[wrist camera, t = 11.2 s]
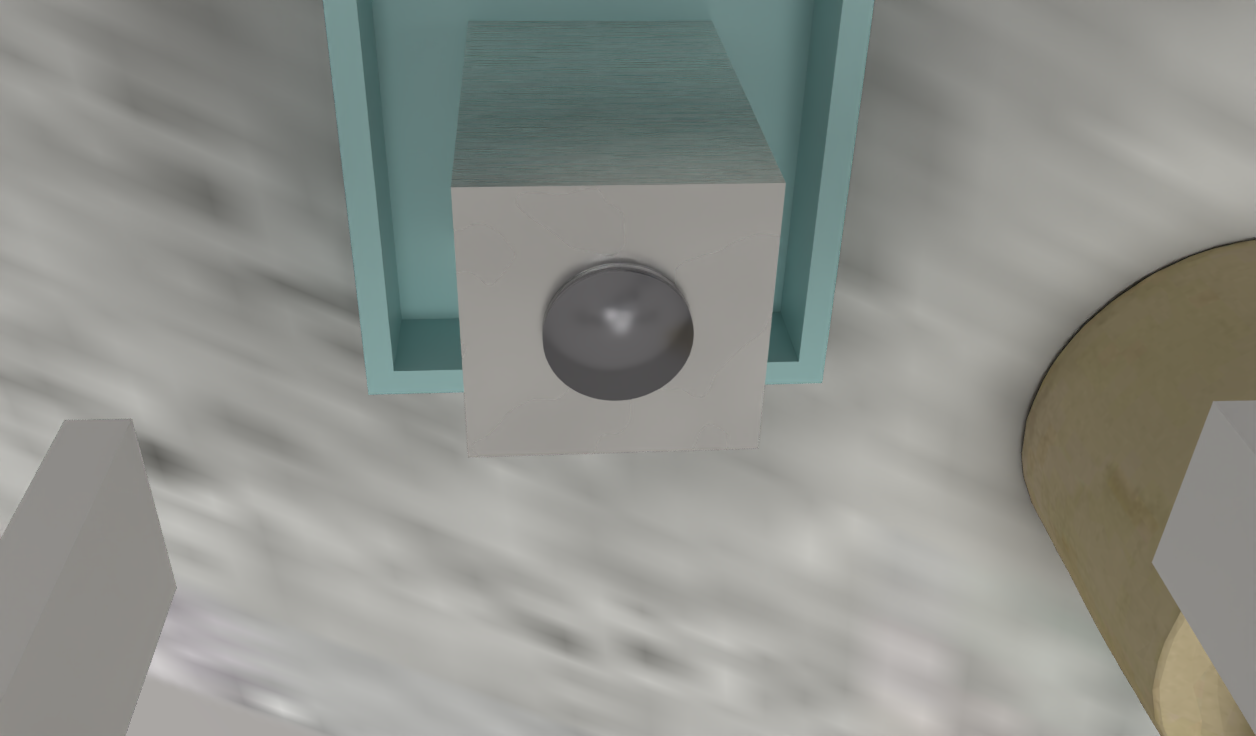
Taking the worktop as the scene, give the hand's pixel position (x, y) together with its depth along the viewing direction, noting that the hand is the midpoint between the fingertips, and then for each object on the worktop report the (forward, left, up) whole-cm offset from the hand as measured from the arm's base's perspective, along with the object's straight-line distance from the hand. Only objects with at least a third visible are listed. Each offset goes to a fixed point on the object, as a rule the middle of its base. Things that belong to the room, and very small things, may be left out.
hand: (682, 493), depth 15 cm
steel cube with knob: (0, 0, -13) cm, 13 cm away
